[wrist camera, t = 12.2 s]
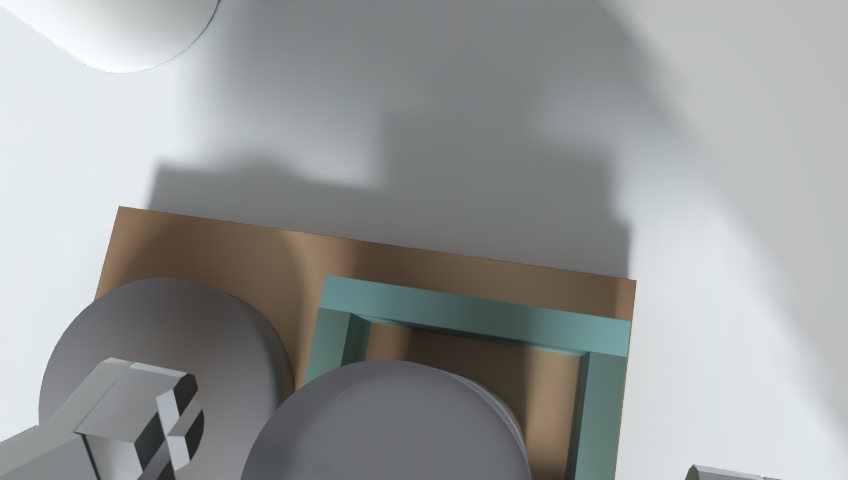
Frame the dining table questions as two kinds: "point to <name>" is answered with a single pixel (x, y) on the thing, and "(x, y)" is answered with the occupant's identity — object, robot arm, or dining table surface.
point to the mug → (117, 28)
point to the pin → (390, 428)
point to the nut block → (350, 331)
